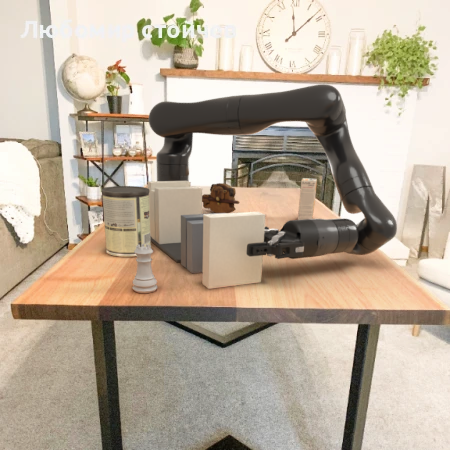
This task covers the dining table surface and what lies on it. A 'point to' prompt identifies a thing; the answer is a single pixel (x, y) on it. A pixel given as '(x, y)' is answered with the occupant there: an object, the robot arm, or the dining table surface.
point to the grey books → (192, 242)
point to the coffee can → (126, 219)
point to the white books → (171, 213)
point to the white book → (231, 248)
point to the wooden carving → (220, 198)
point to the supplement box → (307, 198)
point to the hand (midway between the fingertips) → (236, 244)
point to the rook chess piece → (144, 270)
